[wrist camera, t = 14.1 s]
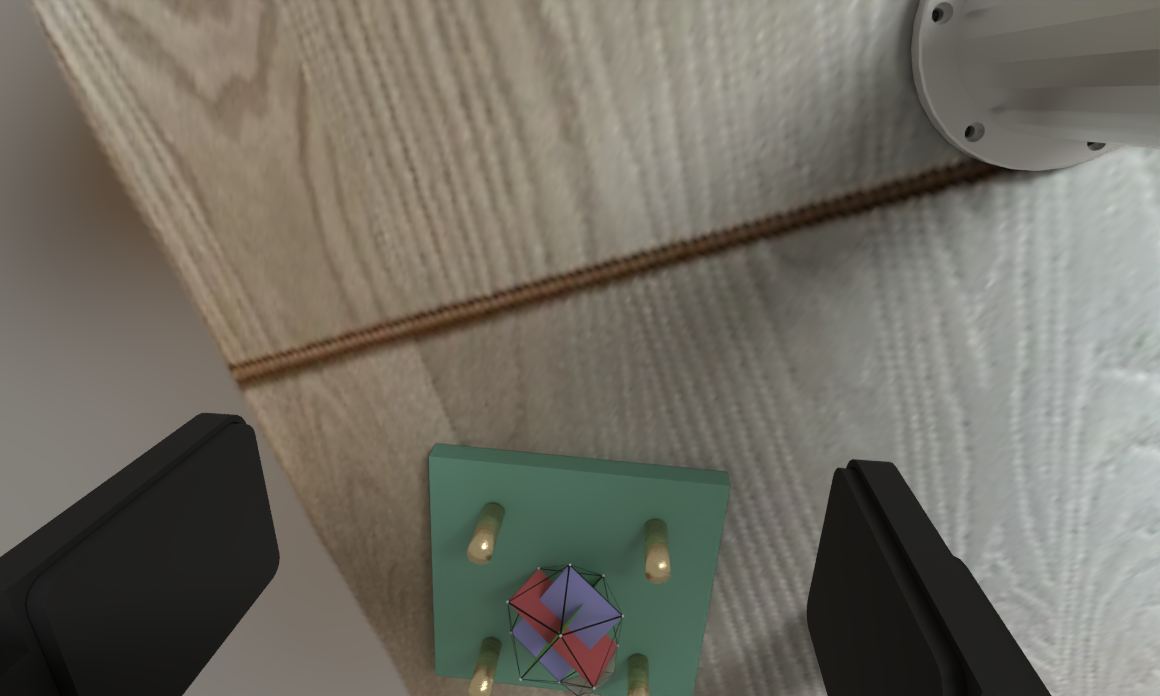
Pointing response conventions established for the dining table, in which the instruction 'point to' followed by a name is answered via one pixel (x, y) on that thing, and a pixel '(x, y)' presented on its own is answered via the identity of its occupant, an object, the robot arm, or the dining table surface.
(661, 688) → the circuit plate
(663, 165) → the dining table surface
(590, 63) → the dining table surface
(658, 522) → the brass standoffs
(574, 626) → the geometric puzzle
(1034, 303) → the dining table surface
